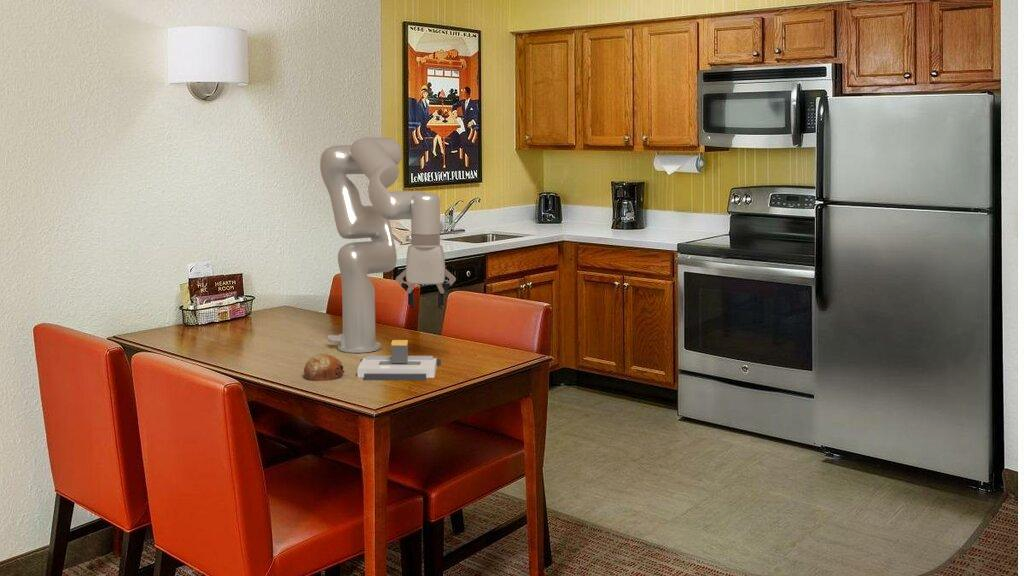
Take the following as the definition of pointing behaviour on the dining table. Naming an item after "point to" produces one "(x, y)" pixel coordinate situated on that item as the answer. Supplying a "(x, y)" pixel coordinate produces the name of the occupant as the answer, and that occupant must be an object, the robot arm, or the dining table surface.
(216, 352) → the dining table surface
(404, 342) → the breaker lever
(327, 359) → the bread roll
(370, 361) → the base
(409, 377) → the dark grey plate
